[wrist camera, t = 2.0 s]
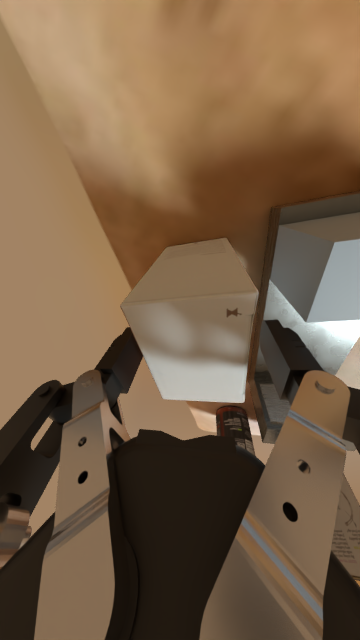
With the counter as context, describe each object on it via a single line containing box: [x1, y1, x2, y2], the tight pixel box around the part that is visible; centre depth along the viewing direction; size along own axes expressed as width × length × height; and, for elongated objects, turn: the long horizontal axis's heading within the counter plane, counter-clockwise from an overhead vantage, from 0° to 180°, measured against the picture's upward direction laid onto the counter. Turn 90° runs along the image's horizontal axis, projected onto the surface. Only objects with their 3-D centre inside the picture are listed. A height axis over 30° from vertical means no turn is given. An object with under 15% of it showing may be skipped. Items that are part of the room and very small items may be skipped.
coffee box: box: [331, 473, 360, 581], centre depth 23 cm, size 9×6×16 cm
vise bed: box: [248, 191, 360, 451], centre depth 15 cm, size 23×9×8 cm, turn 10°
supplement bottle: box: [216, 406, 255, 455], centre depth 27 cm, size 6×6×11 cm
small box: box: [120, 238, 259, 403], centre depth 12 cm, size 8×6×10 cm
